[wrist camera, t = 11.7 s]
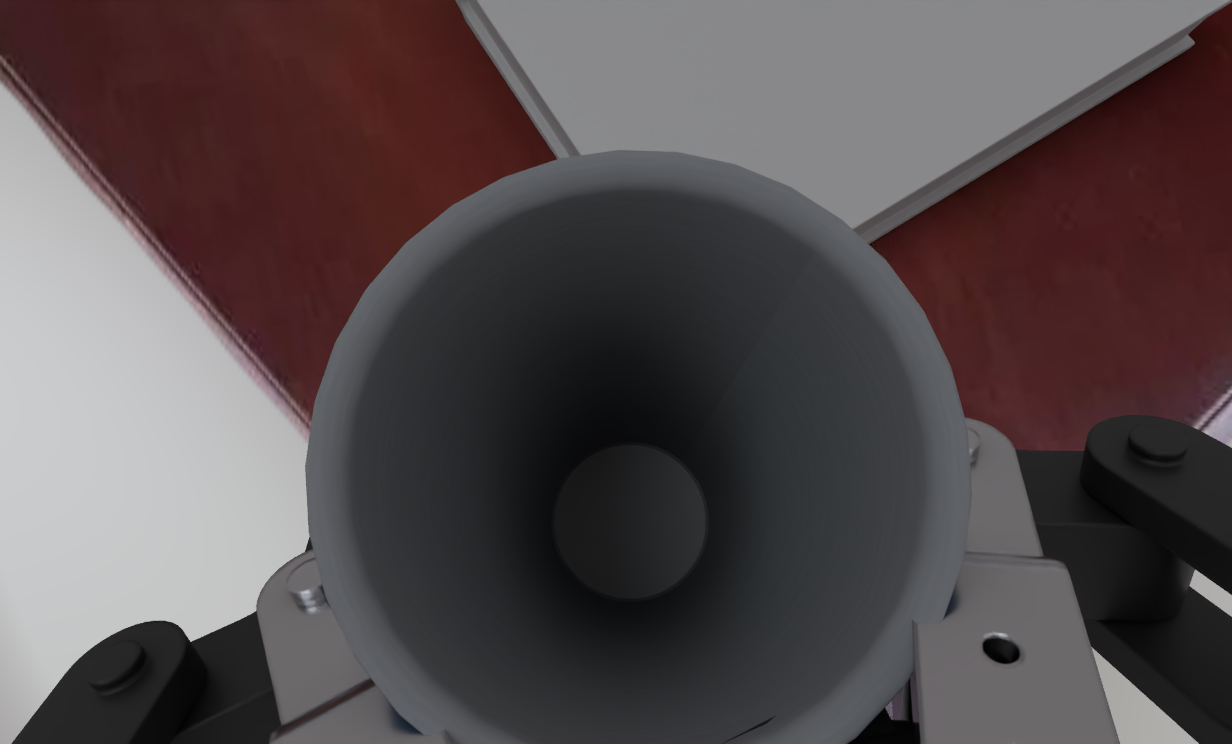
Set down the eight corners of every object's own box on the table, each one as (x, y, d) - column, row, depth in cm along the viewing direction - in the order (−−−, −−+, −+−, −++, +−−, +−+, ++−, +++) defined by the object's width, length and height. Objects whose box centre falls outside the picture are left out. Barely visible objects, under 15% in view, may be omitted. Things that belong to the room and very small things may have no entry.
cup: (639, 696, 17) (670, 999, 5) (466, 529, 18) (164, 473, 6) (793, 511, 18) (1108, 421, 6) (620, 362, 19) (611, 39, 7)
